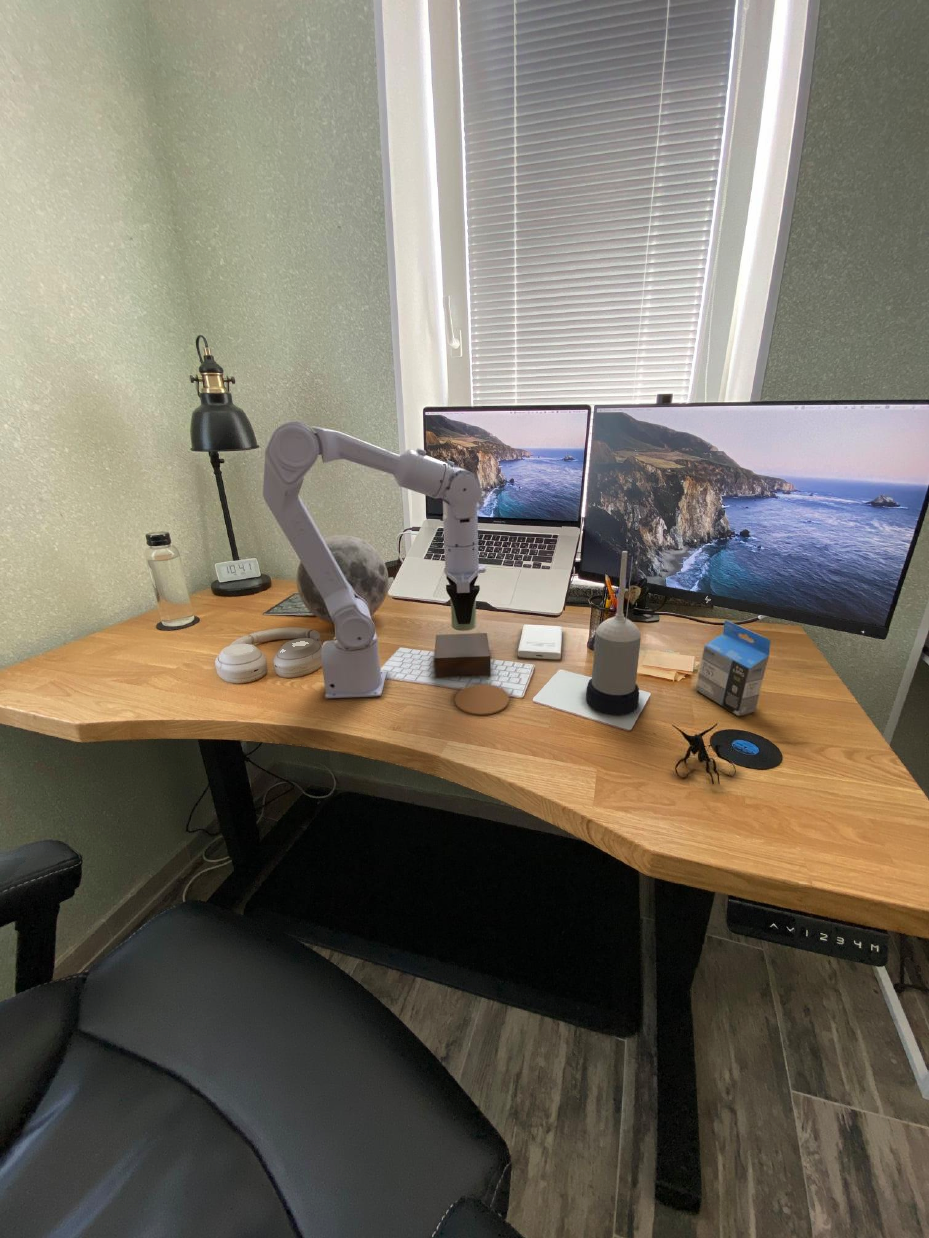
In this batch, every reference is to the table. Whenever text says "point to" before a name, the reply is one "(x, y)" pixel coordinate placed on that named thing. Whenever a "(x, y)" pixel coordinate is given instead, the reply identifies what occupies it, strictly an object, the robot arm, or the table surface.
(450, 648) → the stand
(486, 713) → the coaster
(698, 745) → the creature
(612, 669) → the humidifier
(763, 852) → the table surface
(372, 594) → the moon model
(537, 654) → the hard drive
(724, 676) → the label tape box
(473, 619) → the sage green cylinder
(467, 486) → the robot arm
